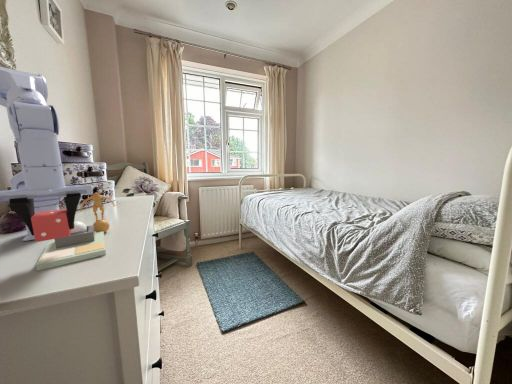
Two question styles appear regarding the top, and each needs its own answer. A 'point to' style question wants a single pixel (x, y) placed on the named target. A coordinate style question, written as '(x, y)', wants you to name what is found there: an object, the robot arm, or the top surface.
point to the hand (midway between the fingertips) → (54, 230)
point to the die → (50, 225)
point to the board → (71, 252)
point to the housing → (76, 238)
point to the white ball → (78, 228)
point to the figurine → (99, 224)
